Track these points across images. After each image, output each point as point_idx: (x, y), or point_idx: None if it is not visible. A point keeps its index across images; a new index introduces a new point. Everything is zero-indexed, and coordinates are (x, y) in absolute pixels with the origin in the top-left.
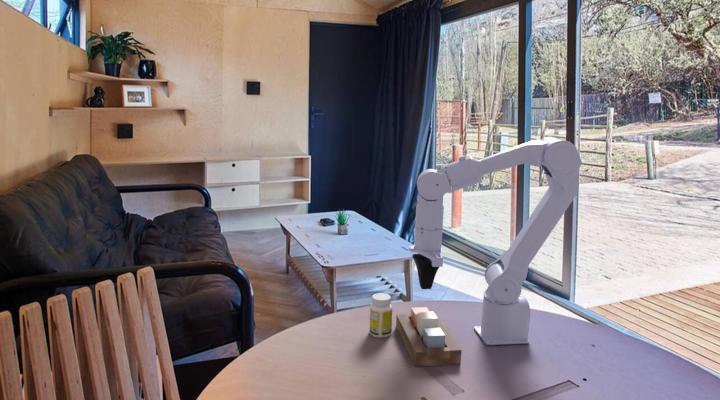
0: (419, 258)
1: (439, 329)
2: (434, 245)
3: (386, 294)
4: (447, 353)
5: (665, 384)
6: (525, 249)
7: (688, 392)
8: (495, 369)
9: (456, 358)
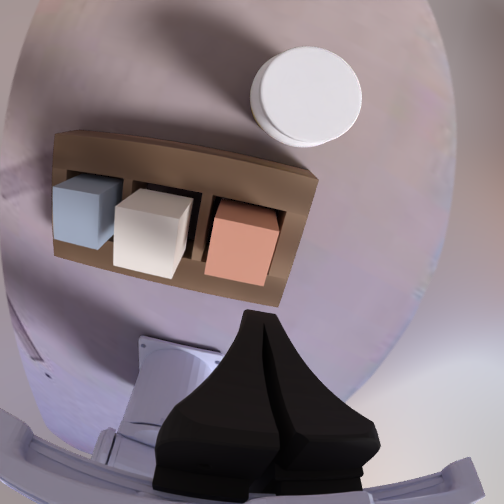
0: (220, 458)
1: (85, 241)
2: None
3: (330, 131)
4: None
5: (53, 419)
6: None
7: (44, 419)
8: (57, 292)
9: None
